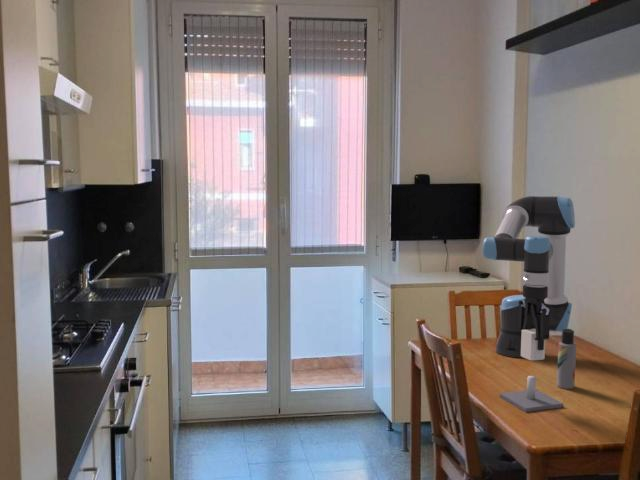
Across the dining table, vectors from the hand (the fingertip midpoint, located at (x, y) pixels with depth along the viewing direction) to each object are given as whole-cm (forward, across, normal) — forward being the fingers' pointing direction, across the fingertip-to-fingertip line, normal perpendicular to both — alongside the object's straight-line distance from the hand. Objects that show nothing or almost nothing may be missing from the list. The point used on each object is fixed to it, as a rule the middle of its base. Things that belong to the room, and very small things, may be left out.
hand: (532, 356), depth 208 cm
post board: (+15, 0, 0) cm, 15 cm away
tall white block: (0, 0, 0) cm, 0 cm away
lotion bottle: (+15, -9, +21) cm, 27 cm away
